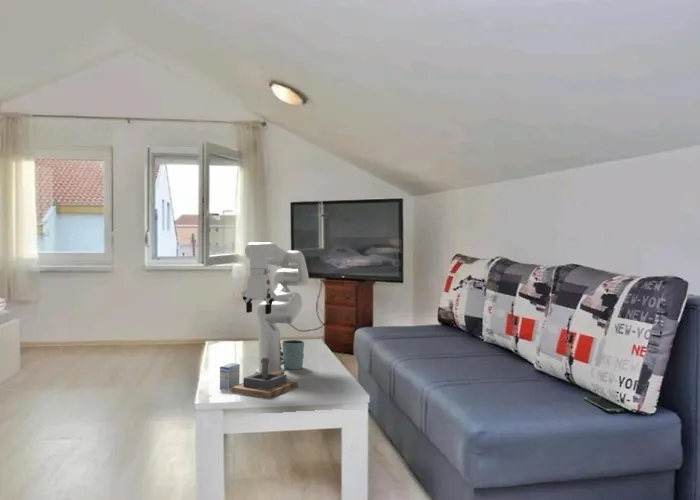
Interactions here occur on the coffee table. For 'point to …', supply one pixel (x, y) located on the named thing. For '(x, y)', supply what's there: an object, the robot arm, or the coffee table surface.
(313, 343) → the coffee table surface
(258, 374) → the grey square frame
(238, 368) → the medicine box
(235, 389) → the wooden peg stand
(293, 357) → the teal cup
